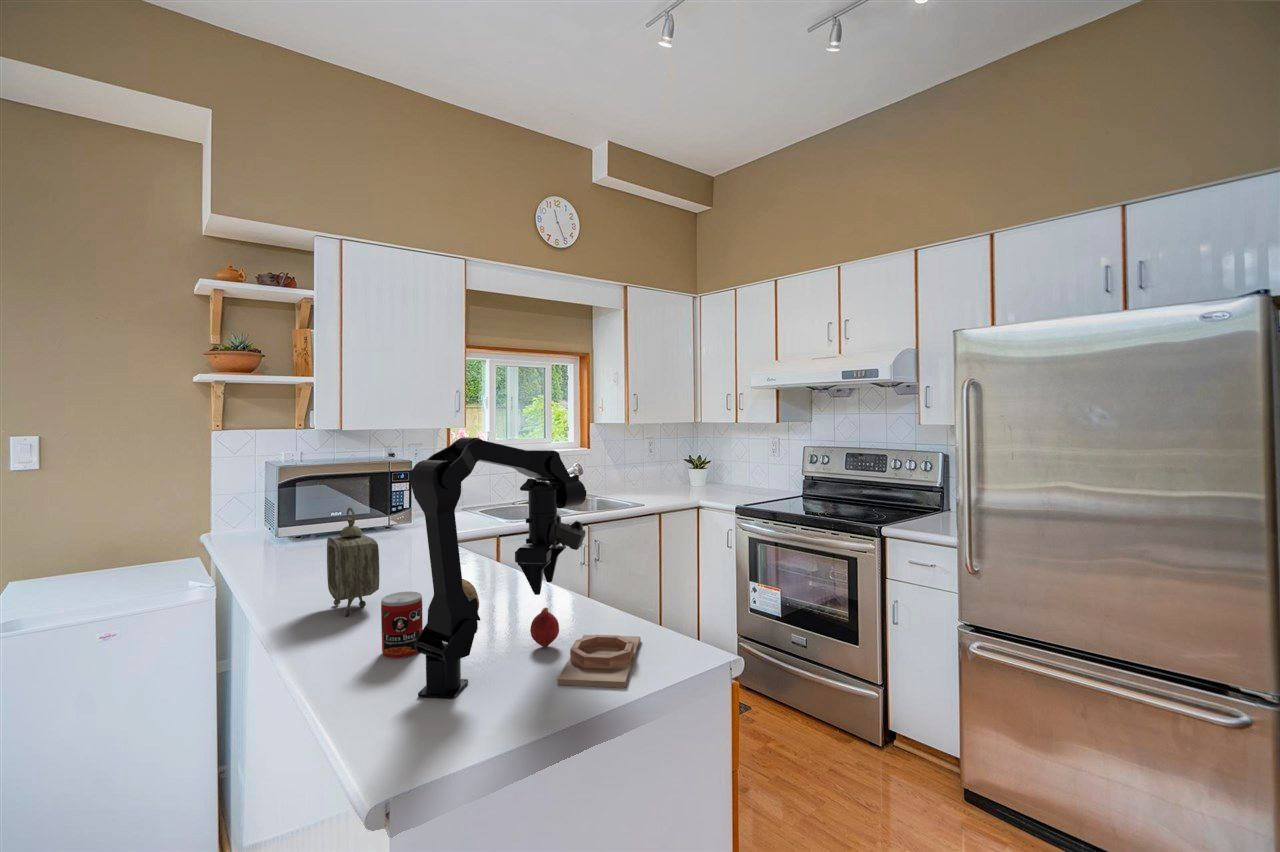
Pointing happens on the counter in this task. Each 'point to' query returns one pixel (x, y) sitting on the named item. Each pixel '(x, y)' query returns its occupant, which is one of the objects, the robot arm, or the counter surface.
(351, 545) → the tabletop clock
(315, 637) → the counter surface
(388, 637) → the canned food
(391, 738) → the counter surface
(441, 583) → the robot arm
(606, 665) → the onion holder
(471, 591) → the natural sponge
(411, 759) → the counter surface
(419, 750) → the counter surface
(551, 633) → the onion
